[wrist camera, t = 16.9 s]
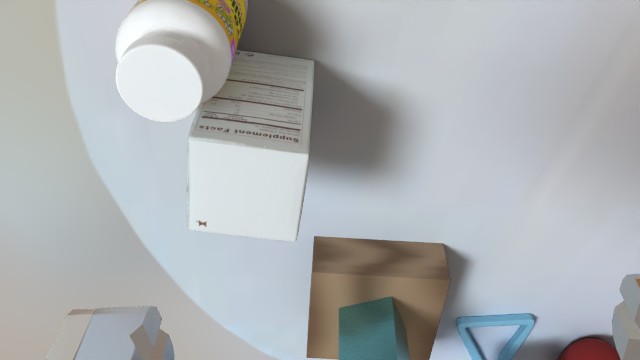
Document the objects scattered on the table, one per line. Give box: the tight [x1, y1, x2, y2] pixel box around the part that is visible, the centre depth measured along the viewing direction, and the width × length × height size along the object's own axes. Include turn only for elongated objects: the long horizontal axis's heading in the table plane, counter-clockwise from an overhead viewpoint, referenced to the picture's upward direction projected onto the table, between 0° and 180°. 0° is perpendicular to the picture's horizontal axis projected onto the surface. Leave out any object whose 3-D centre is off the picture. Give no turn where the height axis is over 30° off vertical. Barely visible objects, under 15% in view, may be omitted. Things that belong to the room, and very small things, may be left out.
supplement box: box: [187, 50, 314, 241], centre depth 42 cm, size 7×7×13 cm
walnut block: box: [307, 236, 451, 360], centre depth 58 cm, size 12×12×5 cm
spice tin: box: [339, 296, 410, 360], centre depth 53 cm, size 5×5×8 cm
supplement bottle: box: [115, 0, 248, 122], centre depth 37 cm, size 7×7×13 cm
